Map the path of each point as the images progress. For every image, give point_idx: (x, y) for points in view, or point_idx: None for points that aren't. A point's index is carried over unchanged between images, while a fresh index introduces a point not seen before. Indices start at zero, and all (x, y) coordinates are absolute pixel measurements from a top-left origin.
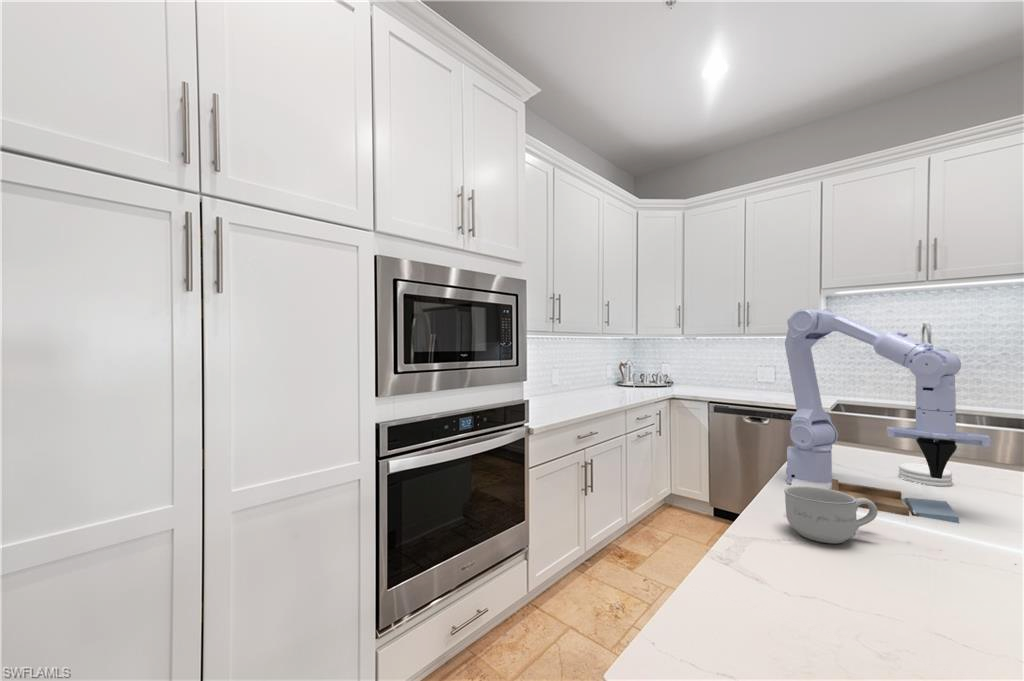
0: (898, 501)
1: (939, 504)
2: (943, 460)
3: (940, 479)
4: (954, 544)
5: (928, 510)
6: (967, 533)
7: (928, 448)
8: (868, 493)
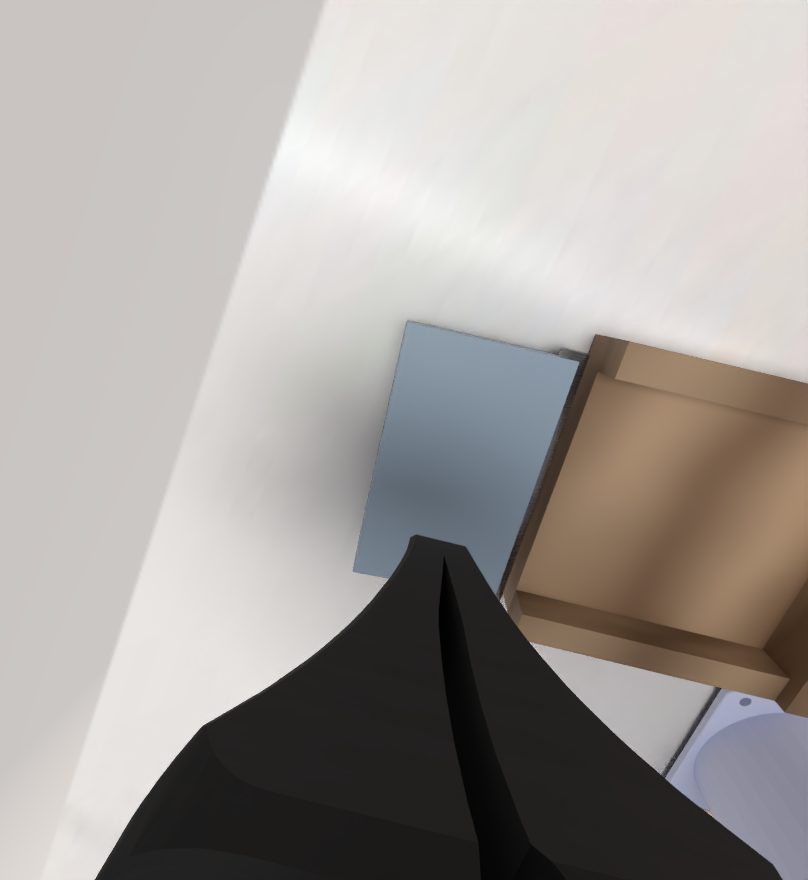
0: (542, 560)
1: (402, 518)
2: (396, 627)
3: None
4: (524, 83)
5: (497, 409)
6: (387, 302)
7: (641, 814)
8: (642, 623)
